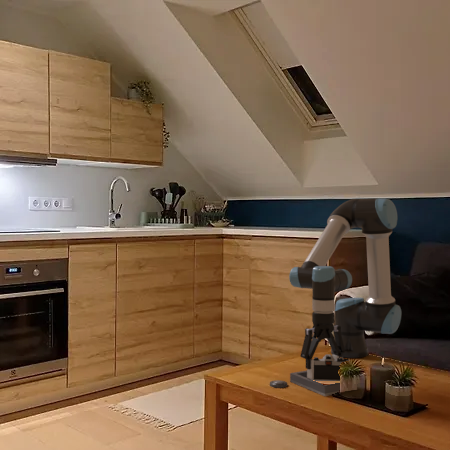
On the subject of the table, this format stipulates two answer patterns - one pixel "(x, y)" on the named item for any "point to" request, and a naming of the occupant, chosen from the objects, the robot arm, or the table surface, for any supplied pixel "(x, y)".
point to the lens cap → (278, 384)
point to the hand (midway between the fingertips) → (323, 376)
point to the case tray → (313, 384)
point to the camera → (327, 368)
